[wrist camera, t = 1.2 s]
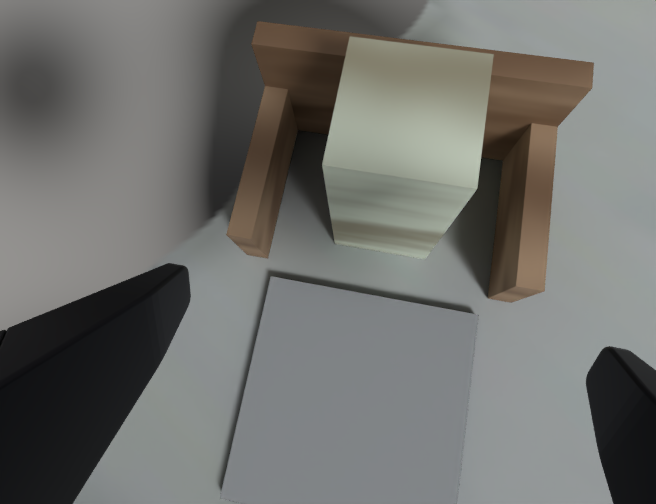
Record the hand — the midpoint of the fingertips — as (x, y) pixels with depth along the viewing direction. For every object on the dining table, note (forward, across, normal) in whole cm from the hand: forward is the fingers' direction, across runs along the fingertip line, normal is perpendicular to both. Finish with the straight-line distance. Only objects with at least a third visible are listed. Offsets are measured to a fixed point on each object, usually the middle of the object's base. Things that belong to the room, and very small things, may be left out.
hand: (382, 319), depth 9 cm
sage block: (+15, 0, +4) cm, 15 cm away
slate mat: (+7, 0, +12) cm, 14 cm away
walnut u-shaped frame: (+15, 0, +4) cm, 15 cm away
